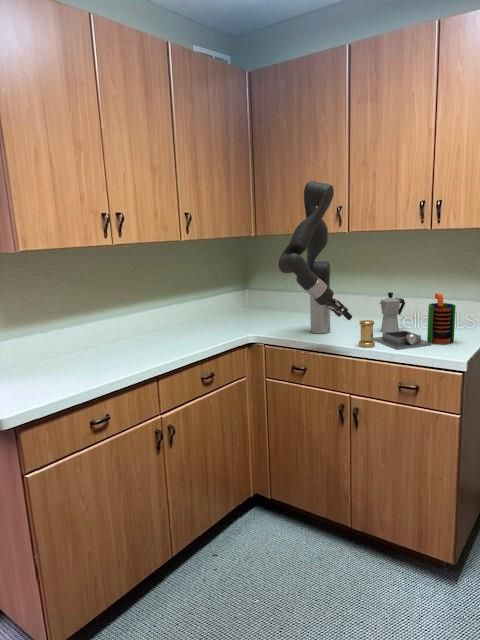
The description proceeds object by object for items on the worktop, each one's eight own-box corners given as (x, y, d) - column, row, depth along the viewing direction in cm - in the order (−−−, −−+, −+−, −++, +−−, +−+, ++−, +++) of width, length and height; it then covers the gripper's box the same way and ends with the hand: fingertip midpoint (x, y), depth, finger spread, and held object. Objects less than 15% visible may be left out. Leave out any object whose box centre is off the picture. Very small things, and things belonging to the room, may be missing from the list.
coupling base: (372, 340, 210) (372, 328, 209) (405, 336, 214) (405, 325, 213) (396, 349, 193) (397, 337, 192) (431, 345, 197) (431, 333, 196)
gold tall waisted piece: (355, 344, 203) (355, 320, 201) (369, 343, 205) (369, 319, 203) (363, 348, 197) (363, 323, 195) (377, 346, 199) (377, 322, 197)
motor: (435, 345, 195) (437, 296, 192) (422, 341, 204) (423, 294, 200) (457, 343, 198) (459, 294, 194) (442, 338, 207) (444, 291, 203)
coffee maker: (385, 334, 218) (386, 294, 215) (372, 331, 226) (373, 292, 223) (411, 330, 224) (411, 291, 221) (397, 326, 232) (398, 289, 229)
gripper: (333, 285, 184) (360, 312, 190) (317, 282, 198) (343, 307, 203) (320, 300, 184) (348, 327, 189) (305, 296, 198) (331, 320, 203)
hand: (345, 316), depth 196 cm, fingers open, 8 cm apart
